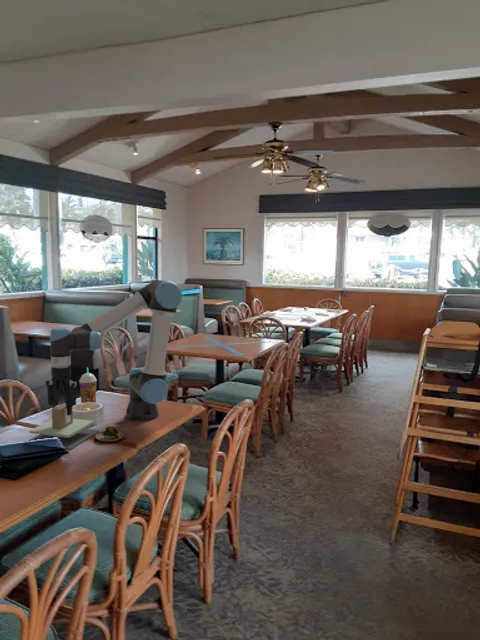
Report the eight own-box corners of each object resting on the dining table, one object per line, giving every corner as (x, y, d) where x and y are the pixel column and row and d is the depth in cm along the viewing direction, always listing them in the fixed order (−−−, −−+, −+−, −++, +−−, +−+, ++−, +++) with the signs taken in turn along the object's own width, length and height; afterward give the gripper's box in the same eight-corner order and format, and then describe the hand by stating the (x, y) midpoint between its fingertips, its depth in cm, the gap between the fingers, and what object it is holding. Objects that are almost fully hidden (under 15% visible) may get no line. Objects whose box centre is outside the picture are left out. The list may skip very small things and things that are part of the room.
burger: (89, 441, 195) (88, 424, 194) (108, 432, 206) (107, 415, 205) (112, 446, 190) (112, 428, 189) (131, 437, 201) (130, 419, 200)
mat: (99, 431, 206) (99, 430, 206) (70, 449, 186) (70, 448, 186) (57, 426, 211) (57, 425, 211) (24, 444, 191) (24, 442, 191)
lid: (94, 423, 204) (93, 402, 203) (68, 437, 187) (68, 415, 186) (57, 419, 209) (57, 398, 208) (29, 432, 192) (28, 410, 191)
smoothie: (76, 408, 239) (75, 368, 236) (87, 403, 246) (86, 365, 244) (89, 410, 236) (88, 370, 233) (100, 405, 243) (99, 366, 241)
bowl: (108, 417, 225) (108, 403, 224) (91, 427, 211) (91, 412, 211) (81, 414, 228) (81, 401, 228) (63, 424, 215) (63, 410, 214)
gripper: (36, 366, 194) (38, 422, 196) (74, 369, 189) (75, 427, 192) (48, 362, 201) (50, 417, 203) (84, 365, 196) (86, 421, 199)
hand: (62, 421), depth 198 cm, fingers closed on lid, 4 cm apart
